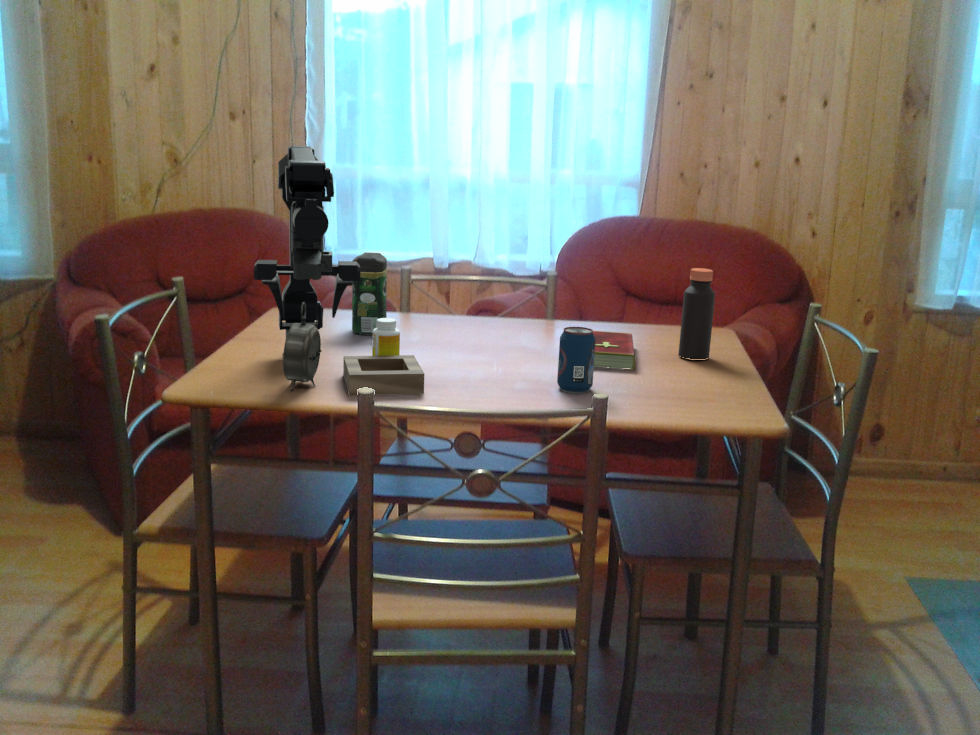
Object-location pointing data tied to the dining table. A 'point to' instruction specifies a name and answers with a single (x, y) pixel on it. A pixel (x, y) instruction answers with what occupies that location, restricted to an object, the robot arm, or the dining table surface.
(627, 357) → the hardcover book
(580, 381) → the soda can
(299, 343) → the alarm clock
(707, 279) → the vinegar
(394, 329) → the supplement bottle
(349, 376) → the well block
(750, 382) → the dining table surface
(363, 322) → the coffee jar
